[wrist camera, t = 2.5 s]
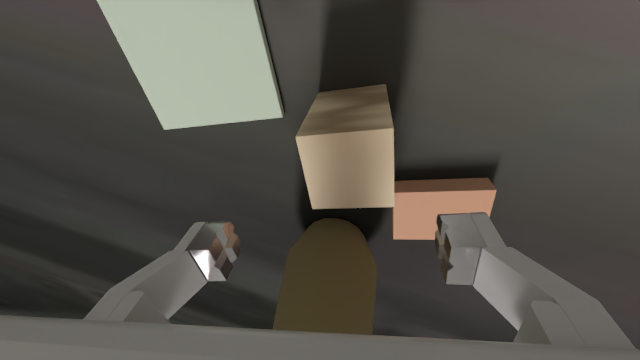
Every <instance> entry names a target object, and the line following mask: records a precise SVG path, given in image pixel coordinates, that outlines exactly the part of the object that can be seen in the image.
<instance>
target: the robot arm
mask: <svg viewBox="0 0 640 360" xmlns="http://www.w3.org/2000/svg"><path fill="white" fill-rule="evenodd" d="M436 223H437V226H438V230H437V231H435V246H436V251H437V255H438V258H440V259H441V260H442V265H441V269H442V272H443V275H444V279H445V282H446V284H460V285H473V287H474V288H475V289H476V290H477V291H478V292H479V293H481V294H482V295H483V296H484V297H485V298H486V299H487V300H488V301H489V302H490V303H491V304H492V305H493V306H494V307H495V308H496V309H497V310H498V311H499V312H500V313H501V314H502V315H503V316H504V317H505V318H506V319H507V320H508V321H509V322H510V323H511V324H512V325H513V326H514V327H515V328H516V329H517V330H518V333H517V335H516V337H515V339H514V341H513V343H512V342H494V341H475V340H456V339H438V338H419V337H400V336H381V335H362V334H343V333H324V332H305V331H287V330H268V329H249V328H230V327H212V326H193V325H174V324H171V323H170V322H169V321H168V319H169V318H170V317H171V316H172V315H173V314H174V313H175V312H176V311H177V310H178V309H179V308H181V307H182V306H183V305H184V304H185V303H186V302H187V301H188V300H189V299H190V298H191V297H192V296H193V295H194V294H195V293H196V292H197V291H198V290H199V289H201V288H202V287H203V286H204V285H205V284H206V283H207V281H226V280H227V278H228V276H229V274H230V272H231V270H232V268H233V266H232V262H233V261H234V260H235V259H237V257H238V255H239V253H240V247H241V245H240V240H239V237H238V236H237V235H236V234H234V233H233V231H234V227H233V225H232V223H231V222H197V223H194V224H193V225H192V227H191V228H190V229H189V230H188V232H187V233H186V234H185V236H184V237H183V238H182V240H181V241H180V242H179V244H178V245H177V246H176V247H175V249H174V250H173V251H169V252H167V253H166V254H164V255H163V256H161V257H159V258H158V259H156V260H155V261H153V262H152V263H150V264H148V265H147V266H145V267H144V268H142V269H141V270H139V271H137V272H136V273H134V274H133V275H131V276H130V277H128V278H126V279H125V280H123V281H122V282H120V283H119V284H117V285H115V286H114V287H112V288H111V289H110V290H109V291H108V292H107V293H106V294H105V295H104V296H103V298H102V299H101V300H100V301H99V302H98V303H97V304H96V306H95V307H94V308H93V309H92V310H91V311H90V312H89V313H88V315H87V316H86V317H85V318H84V319H83V320H82V319H63V318H45V317H26V316H10V315H0V360H640V349H636V348H635V347H634V346H633V345H632V343H631V342H630V341H629V339H628V338H627V337H626V336H625V334H624V333H623V332H622V330H621V329H620V328H619V327H618V325H617V324H616V323H615V321H614V320H613V319H612V318H611V316H610V315H609V314H608V313H607V311H606V310H605V309H604V307H603V306H602V305H601V304H600V302H599V301H598V300H596V299H594V298H593V297H591V296H590V295H588V294H586V293H585V292H583V291H582V290H580V289H578V288H577V287H575V286H573V285H572V284H570V283H569V282H567V281H565V280H564V279H562V278H561V277H559V276H557V275H556V274H554V273H552V272H551V271H549V270H548V269H546V268H544V267H543V266H541V265H540V264H538V263H536V262H535V261H533V260H532V259H530V258H528V257H527V256H525V255H523V254H522V253H520V252H519V251H517V250H515V249H514V248H512V247H506V245H505V244H504V242H503V240H502V238H501V237H500V235H499V233H498V232H497V230H496V228H495V227H494V225H493V223H492V222H491V220H490V218H489V217H488V215H487V213H485V212H473V213H455V214H438V215H437V220H436Z"/></svg>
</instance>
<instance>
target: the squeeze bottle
mask: <svg viewBox="0 0 640 360" xmlns="http://www.w3.org/2000/svg"><path fill="white" fill-rule="evenodd" d="M376 285H377V267H376V262H375V260H374V258H373V255H372V253H371V251H370V248H369V246H368V244H367V241H366V239H365V237H364V235H363V233H362V232H361V231H360V229H359V228H358V227H357V226H355V225H354V224H352V223H351V222H349V221H346V220H342V219H338V218H323V219H321V220H318V221H315V222H313V223H312V224H311V225H310V226H309V227H308V228H307V229H306V231H305V232H304V233H303V234H302V236H301V237H300V238H299V239H298V240H297V242H296V243H295V244H294V245H293V247H292V248H291V249H290V250H289V251H288V254H287V259H286V263H285V268H284V274H283V279H282V284H281V289H280V294H279V300H278V305H277V310H276V315H275V320H274V325H273V330H287V331H305V332H324V333H343V334H362V335H372V329H373V318H374V307H375V296H376Z"/></svg>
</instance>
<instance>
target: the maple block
mask: <svg viewBox="0 0 640 360" xmlns="http://www.w3.org/2000/svg"><path fill="white" fill-rule="evenodd" d="M296 141H297V146H298V150H299V154H300V159H301V163H302V167H303V171H304V176H305V180H306V184H307V188H308V193H309V197H310V201H311V206H312V209H336V208H376V207H395V199H394V127H393V121H392V116H391V110H390V105H389V99H388V93H387V88H386V84H383V85H375V86H367V87H359V88H351V89H343V90H334V91H326V92H319V93H318V94H317V96H316V98H315V100H314V102H313V104H312V106H311V108H310V110H309V112H308V114H307V116H306V117H305V119H304V121H303V123H302V125H301V127H300V129H299V131H298V133H297V135H296Z"/></svg>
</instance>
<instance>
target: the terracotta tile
mask: <svg viewBox="0 0 640 360" xmlns="http://www.w3.org/2000/svg"><path fill="white" fill-rule="evenodd" d="M495 194H496V188H495V187H494V185H493V184H492V182H491V181H490V179H489V178H463V179H435V180H407V181H394V199H395V207H392V230H393V239H432V240H435V231H437V230H438V226H437V223H436V220H437V215H438V214H455V213H473V212H485V213H487V215H488V217H489V216H490V213H491V209H492V205H493V201H494V198H495Z"/></svg>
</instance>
